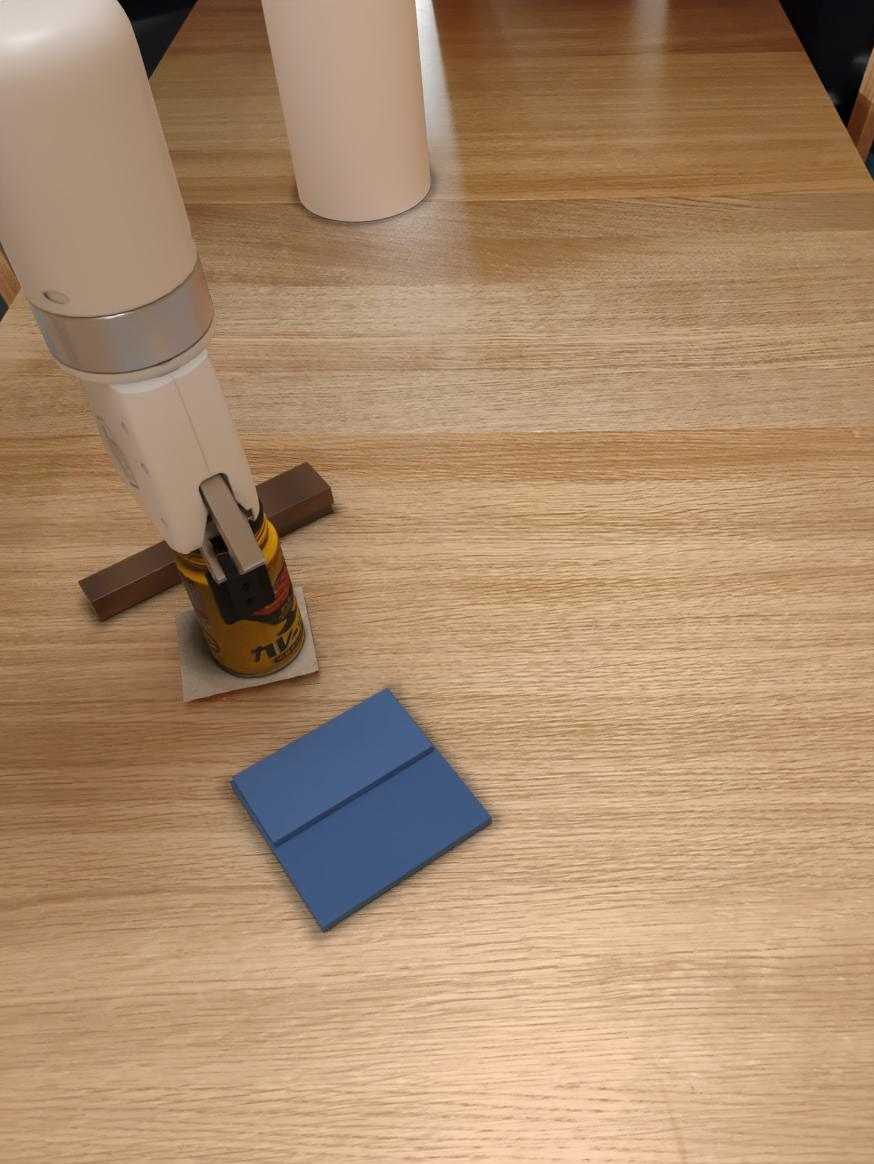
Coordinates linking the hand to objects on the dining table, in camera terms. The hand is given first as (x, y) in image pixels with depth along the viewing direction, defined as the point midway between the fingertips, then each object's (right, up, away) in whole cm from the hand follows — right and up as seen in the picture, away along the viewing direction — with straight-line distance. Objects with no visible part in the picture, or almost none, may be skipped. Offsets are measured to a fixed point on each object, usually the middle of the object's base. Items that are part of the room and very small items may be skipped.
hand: (222, 573), depth 59 cm
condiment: (0, -4, +6) cm, 7 cm away
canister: (+3, +42, +44) cm, 61 cm away
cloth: (+8, -13, -1) cm, 16 cm away
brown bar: (-4, +2, +12) cm, 13 cm away
